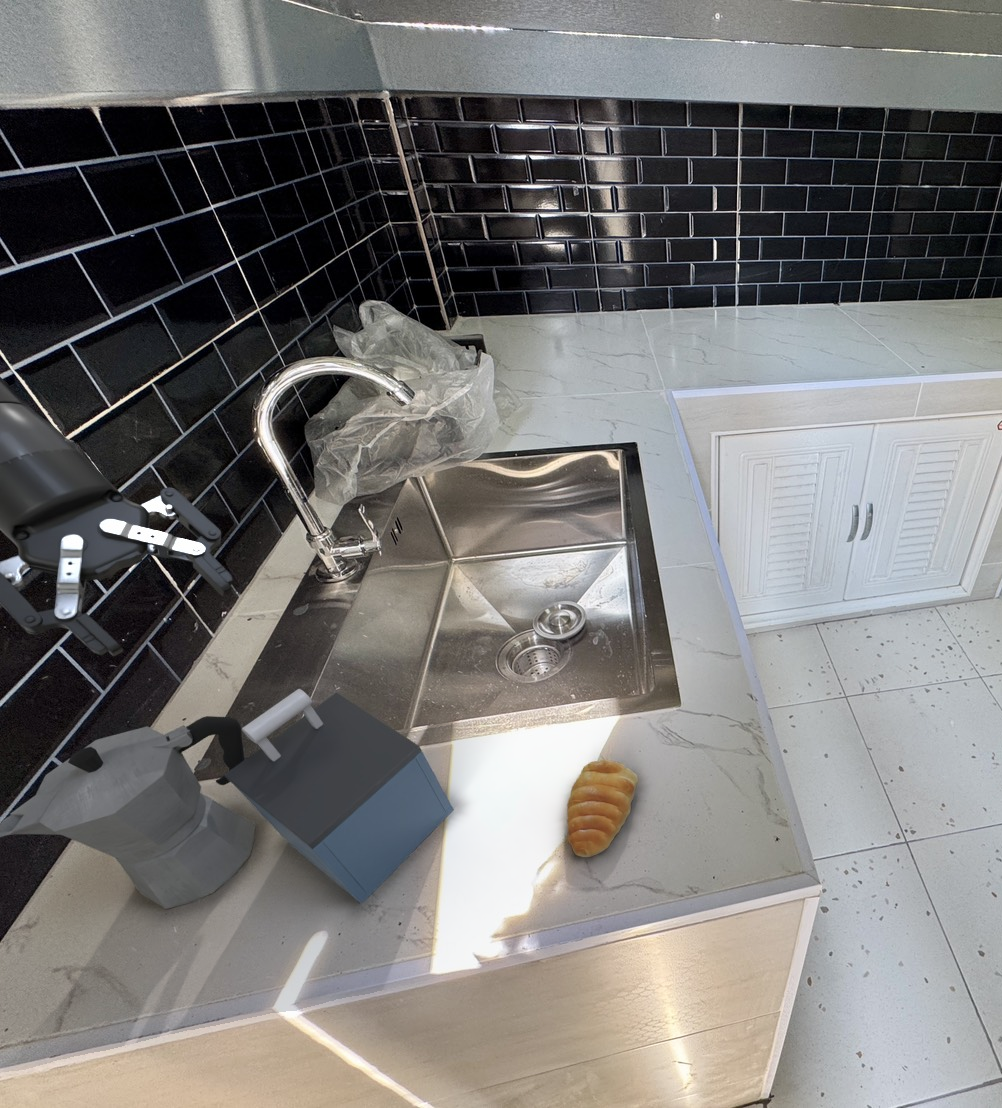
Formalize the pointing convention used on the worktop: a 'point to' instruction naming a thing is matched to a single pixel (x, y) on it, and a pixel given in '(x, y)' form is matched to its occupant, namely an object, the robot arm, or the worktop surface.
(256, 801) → the grey box lid
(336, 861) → the blue-grey box
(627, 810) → the pastry
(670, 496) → the worktop surface
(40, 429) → the robot arm
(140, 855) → the coffeepot
